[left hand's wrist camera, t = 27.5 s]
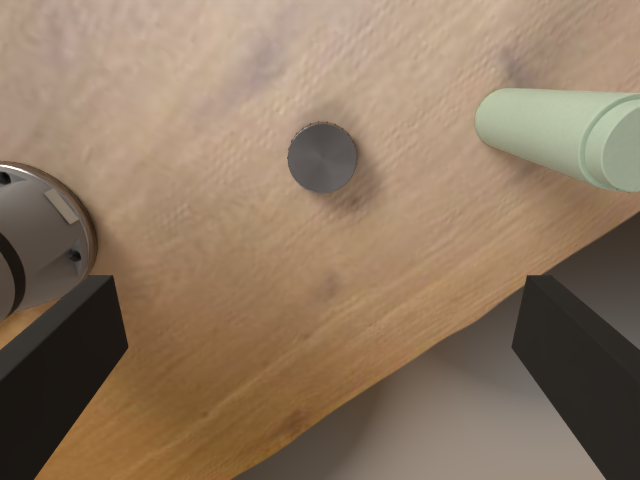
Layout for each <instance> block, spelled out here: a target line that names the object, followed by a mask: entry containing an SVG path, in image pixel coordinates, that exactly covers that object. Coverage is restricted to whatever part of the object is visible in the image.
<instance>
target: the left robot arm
mask: <svg viewBox="0 0 640 480" xmlns="http://www.w3.org/2000/svg"><path fill="white" fill-rule="evenodd" d="M96 253H97V240H96V234H95V230H94V226H93V224H92V221H91V219H90V217H89V215H88V213H87V211H86V209H85V208H84V206H83V205H82V203H81V202H80V201H79V200H78V198H77V197H76V196H75V195H74V194H73V193H72V192H71V191H70V190H69V189H68V188H67V187H66V186H65V185H63V184H62V183H61V182H60V181H58V180H57V179H55V178H54V177H52V176H51V175H49V174H47V173H45V172H43V171H41V170H39V169H37V168H34V167H31V166H28V165H25V164H21V163H15V162H0V322H2V321H3V320H4V319H5V318H7V317H8V316H9V315H11V314H12V313H15V312H18V311H21V310H24V309H27V308H31V307H34V306H37V305H40V304H43V303H47V302H50V301H53V300H55V299H58V298H60V297H62V296H64V295H65V296H64V297H63V298H61V299H60V300H59V301H58V302H57V303H56V304H54V305H53V306H52V307H51V308H50V309H48V310H47V311H46V312H45V313H44V314H42V315H41V316H40V317H39V318H38V319H37V320H35V321H34V322H33V323H32V324H31V325H29V326H28V327H27V328H26V329H25V330H24V331H22V332H21V333H20V334H19V335H18V336H16V337H15V338H14V339H13V340H12V341H10V342H9V343H8V344H7V345H6V346H5V347H3V348H2V349H1V350H0V480H34V479H35V477H36V476H37V474H38V473H39V472H40V470H41V469H42V467H43V466H44V465H45V463H46V462H47V460H48V459H49V458H50V456H51V455H52V453H53V452H54V451H55V449H56V448H57V447H58V445H59V444H60V442H61V441H62V440H63V438H64V437H65V435H66V434H67V433H68V431H69V430H70V428H71V427H72V426H73V424H74V423H75V421H76V420H77V419H78V417H79V416H80V414H81V413H82V412H83V410H84V409H85V407H86V406H87V405H88V403H89V402H90V400H91V399H92V398H93V396H94V395H95V394H96V392H97V391H98V389H99V388H100V387H101V385H102V384H103V382H104V381H105V380H106V378H107V377H108V375H109V374H110V373H111V371H112V370H113V368H114V367H115V366H116V364H117V363H118V361H119V360H120V359H121V357H122V356H123V354H124V353H125V352H126V350H127V349H128V343H127V338H126V333H125V329H124V324H123V319H122V315H121V310H120V306H119V301H118V296H117V292H116V287H115V283H114V278H113V275H89V276H88V274H89V273H90V271H91V269H92V267H93V265H94V262H95V258H96ZM87 276H88V277H87ZM512 349H513V350H514V352H515V353H516V354H517V356H518V357H519V359H520V360H521V361H522V363H523V364H524V366H525V367H526V368H527V370H528V371H529V373H530V374H531V375H532V377H533V378H534V380H535V381H536V382H537V384H538V385H539V386H540V388H541V389H542V391H543V392H544V394H545V395H546V396H547V398H548V399H549V400H550V402H551V403H552V405H553V406H554V407H555V409H556V410H557V412H558V413H559V414H560V416H561V417H562V419H563V420H564V421H565V423H566V424H567V426H568V427H569V428H570V430H571V431H572V433H573V434H574V435H575V437H576V438H577V440H578V441H579V442H580V444H581V445H582V446H583V448H584V449H585V451H586V452H587V453H588V455H589V456H590V458H591V459H592V460H593V462H594V463H595V465H596V466H597V467H598V469H599V470H600V472H601V473H602V474H603V476H604V477H605V479H606V480H640V350H639V349H638V348H637V347H635V346H634V345H633V344H632V343H631V342H629V341H628V340H627V339H626V338H625V337H624V336H622V335H621V334H620V333H619V332H618V331H616V330H615V329H614V328H613V327H612V326H611V325H609V324H608V323H607V322H606V321H605V320H603V319H602V318H601V317H600V316H599V315H597V314H596V313H595V312H594V311H593V310H592V309H590V308H589V307H588V306H587V305H586V304H584V303H583V302H582V301H581V300H580V299H579V298H577V297H576V296H575V295H574V294H573V293H571V292H570V291H569V290H568V289H567V288H566V287H564V286H563V285H562V284H561V283H560V282H558V281H557V280H556V279H555V278H554V277H552V276H551V275H527V278H526V283H525V287H524V292H523V297H522V301H521V306H520V310H519V315H518V320H517V324H516V329H515V333H514V338H513V343H512Z"/></svg>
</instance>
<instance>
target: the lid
mask: <svg viewBox="0 0 640 480" xmlns="http://www.w3.org/2000/svg"><path fill="white" fill-rule="evenodd" d="M291 142H292V143H291V145H290V147H289V149H288V150H289V152H288V157H287V159H288V167H289V169H290V172H291V174H292V176H293V177H294V179H295V180H296V181H297V182H298V184H300V185H301V186H302V187H304V188H305V189H307V190H309V191H312V192H316V193H328V192H332V191H335V190H337V189H339V188H341V187H342V186H344V185H345V184H346V183H347V182H348V181H349V180H350V178H351V177H352V175H353V173H354V171H355V168H356V163H357V154H356V151H357V150H356V148H355V146H354V144H353V143H354V142H353V140H351V138H350V135H349V134H347V133H346V132H345V131H344V129H343V128H341V127H339V126H337V125H336V124H332V123H328V122H327V121H326V122H319V121H318V122H317V123H312V124H311V123H310V125H308V126H306V127H303V128H302V129H301V130H300V131H299V132H298V133H296V136H295V137H294V139H293V140H292V141H291Z"/></svg>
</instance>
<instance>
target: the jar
mask: <svg viewBox="0 0 640 480" xmlns="http://www.w3.org/2000/svg"><path fill="white" fill-rule="evenodd" d="M475 129H476V132H477V134H478V136H479V138H480V139H481V140H482V141H483V142H484V143H485V144H487V145H489V146H492V147H494V148H497V149H500V150H502V151H505V152H507V153H510V154H513V155H515V156H518V157H520V158H523V159H526V160H528V161H531V162H533V163H536V164H539V165H541V166H544V167H546V168H549V169H552V170H554V171H557V172H559V173H562V174H565V175H567V176H570V177H572V178H575V179H578V180H580V181H583V182H585V183H588V184H591V185H593V186H596V187H599V188H601V189H606V190H616V191H621V192H629V193H630V192H640V93H625V92H600V91H575V90H550V89H525V88H503V89H499V90H496V91H494V92H493V93H491V94H490V95H488V96H487V97H486V98H485V99H484V100H483V101H482V103H481V104H480V106H479V108H478V110H477V112H476V116H475Z"/></svg>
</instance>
